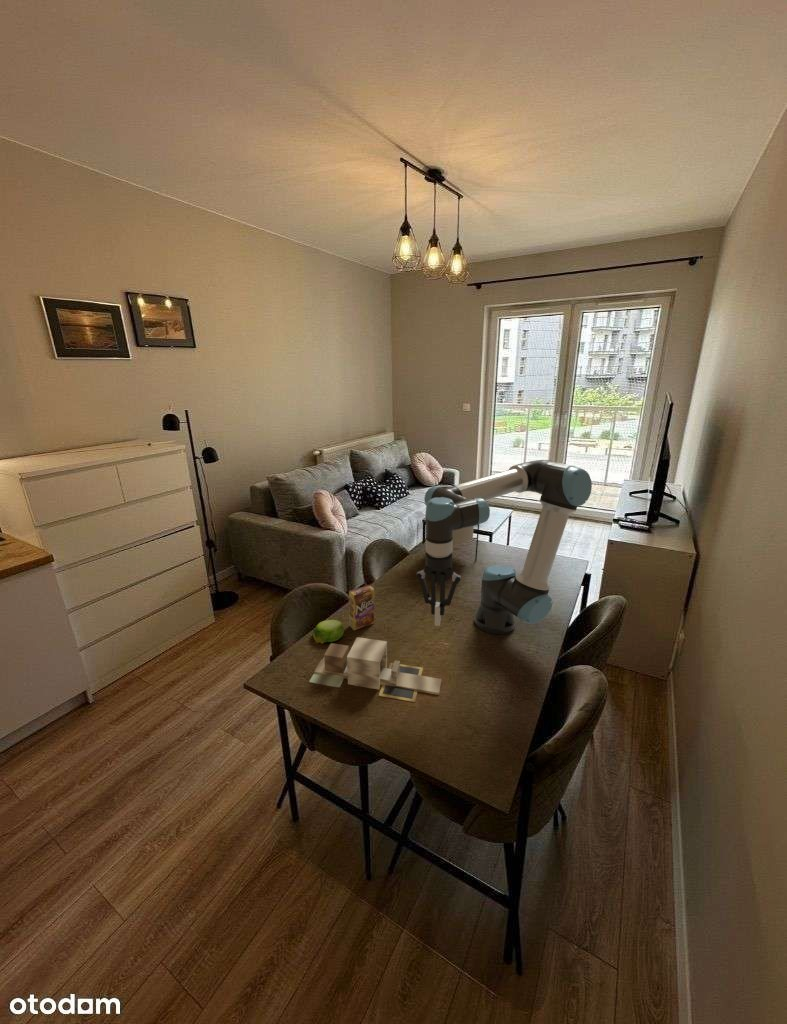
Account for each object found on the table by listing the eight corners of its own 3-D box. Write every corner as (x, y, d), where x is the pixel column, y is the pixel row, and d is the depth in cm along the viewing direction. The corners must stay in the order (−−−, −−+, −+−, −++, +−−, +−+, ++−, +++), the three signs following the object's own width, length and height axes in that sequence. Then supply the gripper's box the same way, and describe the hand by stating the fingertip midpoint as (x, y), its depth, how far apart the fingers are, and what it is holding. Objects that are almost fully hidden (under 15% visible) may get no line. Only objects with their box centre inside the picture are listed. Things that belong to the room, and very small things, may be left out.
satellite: (443, 671, 134) (444, 644, 131) (437, 706, 121) (438, 677, 117) (326, 652, 143) (325, 627, 139) (308, 683, 129) (306, 656, 126)
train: (400, 671, 133) (400, 653, 130) (395, 685, 127) (396, 666, 125) (329, 660, 138) (328, 642, 136) (322, 672, 132) (321, 654, 130)
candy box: (354, 631, 154) (353, 595, 149) (349, 625, 158) (347, 590, 153) (375, 623, 159) (374, 588, 154) (369, 618, 162) (368, 583, 157)
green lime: (331, 649, 145) (330, 637, 143) (307, 639, 150) (306, 627, 149) (350, 632, 154) (350, 620, 153) (327, 623, 160) (327, 612, 158)
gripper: (463, 548, 119) (460, 618, 127) (418, 545, 122) (418, 613, 130) (461, 560, 112) (458, 633, 121) (413, 556, 115) (414, 628, 123)
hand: (437, 623), depth 125 cm, fingers closed
